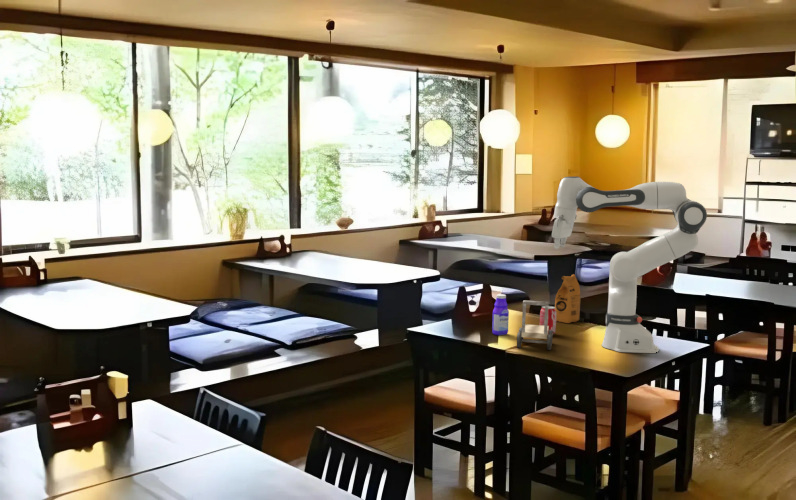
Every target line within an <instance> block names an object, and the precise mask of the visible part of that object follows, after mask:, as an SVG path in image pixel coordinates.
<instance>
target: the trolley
mask: <svg viewBox="0 0 796 500" xmlns="http://www.w3.org/2000/svg"><path fill="white" fill-rule="evenodd" d="M527 305H528V306H531V305H532V306H541V307H542V306H545V322H544V326H542V325H540V324H539V325H538V324H526V317H527V313H526V312H527ZM548 306H550V305H549V301H541V300H540V301H539V300H526V299H525V300H523V301H522V316H521V317H522V319H521V327H519V330H518V332H517V336H516V348H521V347H522V343H523V342H524V343H533V344H534V343H535V344H546V350H548V351H552V344H553V335H554V334H553V330H549V326H547V325H548ZM548 330H549V334H548ZM532 338H533V339H532ZM543 339H545V340H543Z"/></svg>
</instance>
